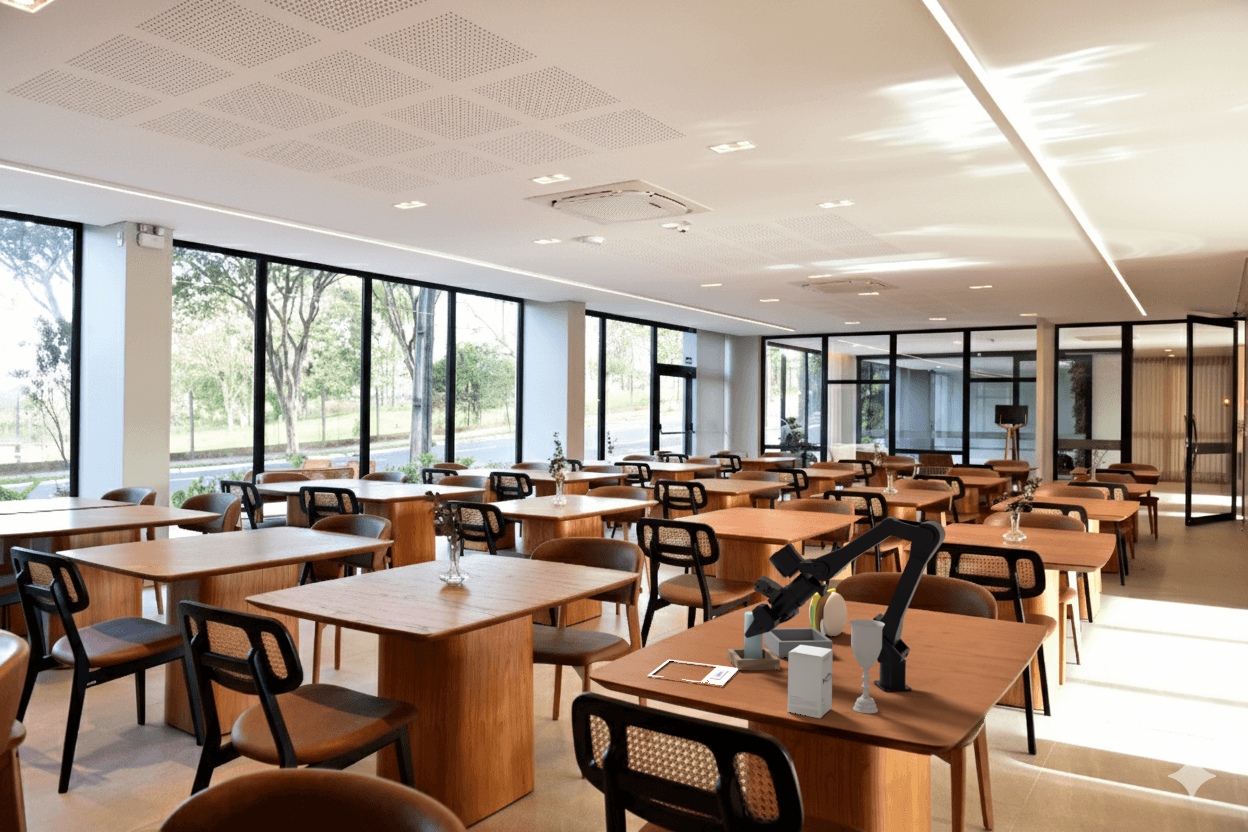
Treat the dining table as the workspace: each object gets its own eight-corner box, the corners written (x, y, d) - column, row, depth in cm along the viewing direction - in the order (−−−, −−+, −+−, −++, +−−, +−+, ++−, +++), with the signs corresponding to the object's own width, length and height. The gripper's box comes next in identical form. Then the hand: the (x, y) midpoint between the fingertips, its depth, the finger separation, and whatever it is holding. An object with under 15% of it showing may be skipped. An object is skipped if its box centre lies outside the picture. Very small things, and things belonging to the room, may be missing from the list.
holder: (779, 669, 208) (779, 659, 208) (737, 670, 207) (737, 660, 207) (767, 657, 219) (767, 648, 219) (727, 658, 217) (727, 648, 217)
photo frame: (722, 684, 194) (647, 674, 201) (722, 689, 194) (647, 679, 201) (739, 667, 207) (668, 658, 214) (739, 672, 207) (668, 663, 214)
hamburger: (832, 641, 236) (832, 597, 236) (805, 636, 241) (805, 593, 241) (852, 633, 245) (852, 591, 245) (825, 628, 250) (826, 587, 250)
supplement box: (821, 719, 174) (822, 656, 174) (786, 712, 178) (787, 651, 178) (832, 709, 181) (833, 648, 181) (798, 702, 184) (799, 643, 184)
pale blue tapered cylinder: (764, 666, 211) (764, 615, 211) (746, 666, 210) (747, 615, 210) (759, 661, 215) (760, 611, 215) (742, 661, 215) (742, 611, 215)
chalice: (877, 703, 184) (878, 619, 184) (888, 714, 177) (889, 627, 177) (843, 703, 184) (844, 619, 184) (852, 714, 177) (854, 626, 177)
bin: (832, 657, 220) (832, 641, 220) (778, 657, 219) (778, 642, 219) (814, 642, 234) (814, 627, 234) (763, 643, 233) (763, 628, 233)
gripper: (787, 561, 218) (746, 599, 224) (761, 572, 202) (716, 613, 208) (817, 596, 214) (774, 634, 220) (792, 610, 198) (746, 651, 204)
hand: (752, 632), depth 213 cm, fingers open, 9 cm apart
